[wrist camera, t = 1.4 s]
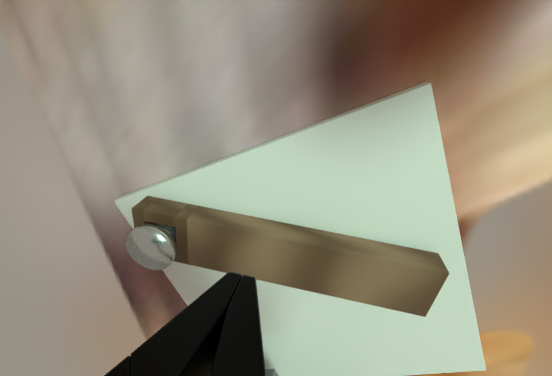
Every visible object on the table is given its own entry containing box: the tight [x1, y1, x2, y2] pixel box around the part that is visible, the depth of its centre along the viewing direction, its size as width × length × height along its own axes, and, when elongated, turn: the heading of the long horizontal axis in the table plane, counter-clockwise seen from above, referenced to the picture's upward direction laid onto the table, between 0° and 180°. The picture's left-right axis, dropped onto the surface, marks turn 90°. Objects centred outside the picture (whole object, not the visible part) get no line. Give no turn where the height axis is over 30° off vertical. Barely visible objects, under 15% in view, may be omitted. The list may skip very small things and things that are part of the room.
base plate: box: [114, 82, 486, 376], centre depth 20 cm, size 23×22×4 cm
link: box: [131, 196, 449, 317], centre depth 18 cm, size 20×4×2 cm, turn 83°
